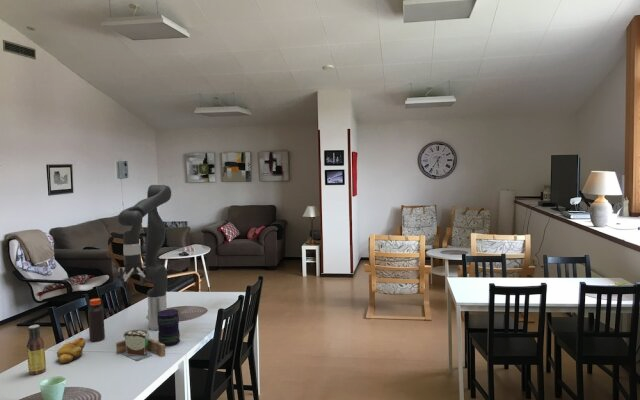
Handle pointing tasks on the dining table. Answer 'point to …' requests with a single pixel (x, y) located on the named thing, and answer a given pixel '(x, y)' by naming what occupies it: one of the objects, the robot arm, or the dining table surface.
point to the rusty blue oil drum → (168, 327)
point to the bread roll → (71, 350)
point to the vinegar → (96, 321)
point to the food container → (136, 342)
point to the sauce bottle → (35, 351)
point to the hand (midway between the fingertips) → (133, 287)
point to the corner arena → (151, 346)
